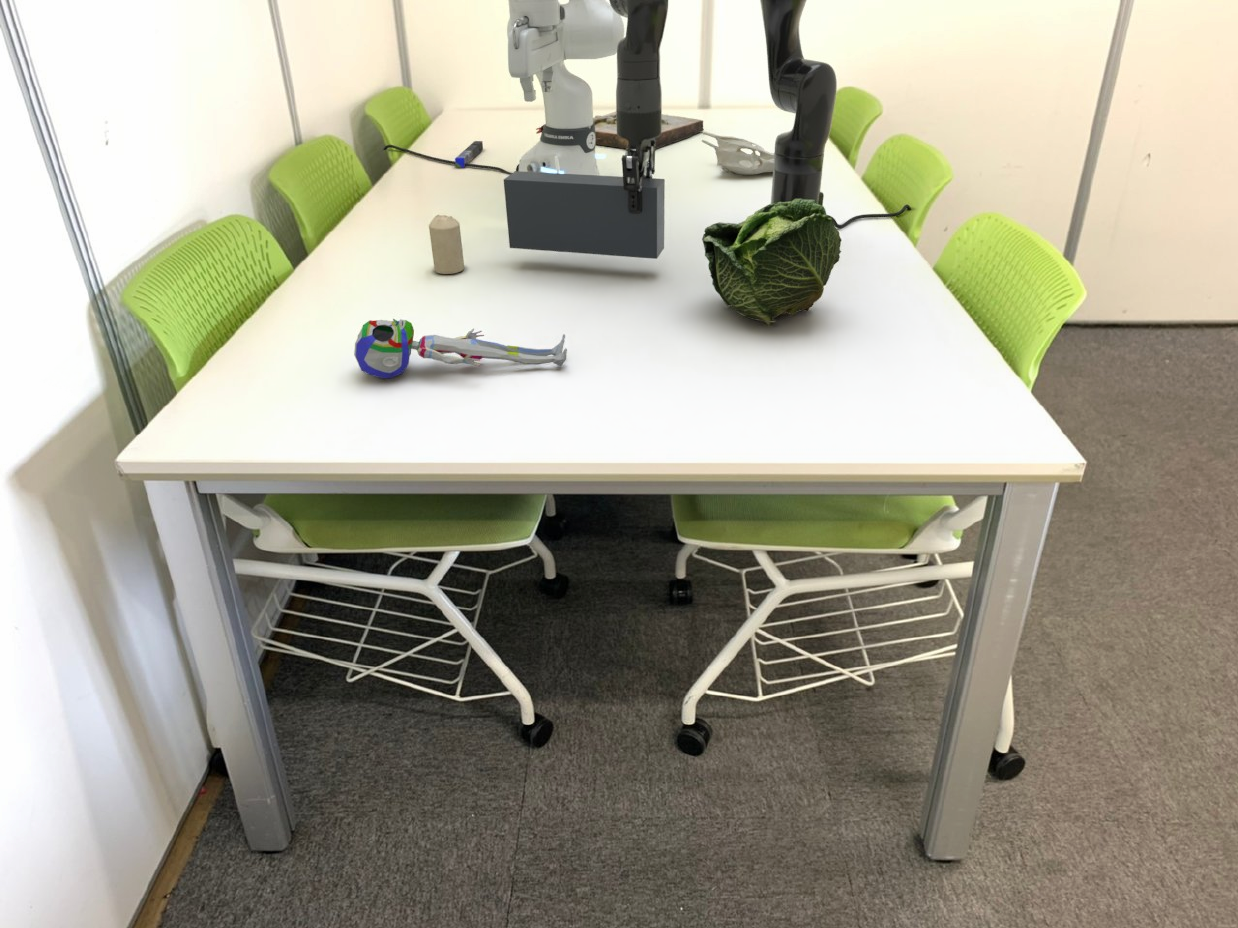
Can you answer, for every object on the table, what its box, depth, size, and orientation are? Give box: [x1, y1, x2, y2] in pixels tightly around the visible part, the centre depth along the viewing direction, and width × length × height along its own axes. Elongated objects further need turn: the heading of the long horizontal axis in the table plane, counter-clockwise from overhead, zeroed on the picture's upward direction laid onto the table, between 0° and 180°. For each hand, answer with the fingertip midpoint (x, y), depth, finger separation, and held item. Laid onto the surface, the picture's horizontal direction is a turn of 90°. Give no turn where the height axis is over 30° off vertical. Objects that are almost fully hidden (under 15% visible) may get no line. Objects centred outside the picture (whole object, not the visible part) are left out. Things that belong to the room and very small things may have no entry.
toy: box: [353, 318, 568, 379], centre depth 130 cm, size 10×8×30 cm
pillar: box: [454, 140, 484, 169], centre depth 238 cm, size 2×2×20 cm
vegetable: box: [701, 198, 843, 326], centre depth 143 cm, size 20×19×20 cm
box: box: [503, 170, 666, 260], centre depth 161 cm, size 28×6×12 cm, turn 75°
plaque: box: [593, 111, 705, 150], centre depth 257 cm, size 30×7×30 cm
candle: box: [428, 214, 465, 275], centre depth 165 cm, size 6×6×10 cm
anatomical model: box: [701, 131, 774, 176], centre depth 221 cm, size 15×9×25 cm
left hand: (539, 96), depth 168 cm, fingers open, 8 cm apart
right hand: (639, 207), depth 157 cm, fingers closed on box, 5 cm apart
